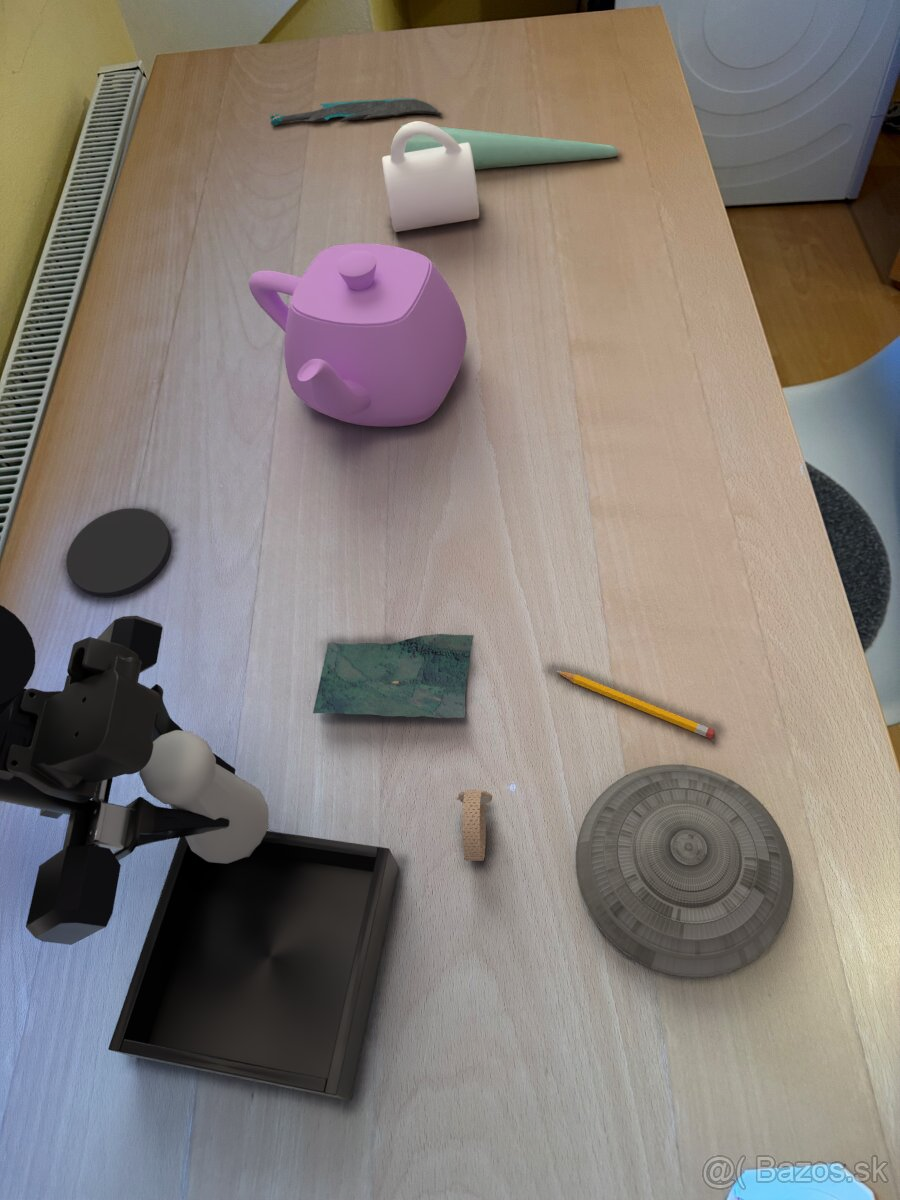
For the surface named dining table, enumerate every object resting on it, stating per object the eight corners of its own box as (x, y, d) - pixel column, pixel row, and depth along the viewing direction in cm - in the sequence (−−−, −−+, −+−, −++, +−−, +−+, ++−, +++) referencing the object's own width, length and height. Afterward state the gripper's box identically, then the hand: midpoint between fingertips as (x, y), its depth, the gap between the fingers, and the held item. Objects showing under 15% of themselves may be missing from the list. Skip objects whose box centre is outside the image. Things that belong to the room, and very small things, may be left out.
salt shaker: (220, 782, 65) (153, 701, 55) (290, 805, 64) (236, 726, 53) (181, 858, 62) (102, 789, 52) (254, 884, 61) (189, 818, 50)
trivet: (82, 614, 84) (78, 609, 83) (60, 539, 89) (56, 534, 88) (183, 569, 85) (180, 564, 84) (156, 498, 90) (153, 493, 90)
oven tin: (135, 1057, 62) (107, 1049, 59) (206, 837, 70) (185, 818, 67) (351, 1101, 59) (336, 1095, 56) (399, 866, 68) (389, 848, 64)
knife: (274, 109, 128) (268, 129, 125) (272, 101, 127) (266, 121, 124) (445, 98, 125) (442, 118, 122) (444, 91, 124) (441, 111, 121)
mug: (481, 232, 108) (472, 135, 98) (396, 246, 108) (378, 151, 98) (473, 192, 112) (464, 95, 102) (391, 206, 113) (374, 110, 103)
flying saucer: (830, 857, 64) (850, 832, 60) (711, 1031, 59) (723, 1018, 55) (654, 735, 71) (659, 704, 66) (533, 882, 66) (530, 860, 61)
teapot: (308, 316, 103) (271, 195, 90) (484, 338, 98) (471, 214, 85) (223, 465, 92) (168, 351, 79) (417, 500, 87) (390, 384, 74)
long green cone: (620, 126, 107) (397, 140, 111) (618, 169, 111) (404, 181, 115) (619, 101, 110) (402, 115, 113) (617, 144, 114) (409, 157, 118)
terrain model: (315, 724, 75) (310, 713, 73) (329, 644, 79) (324, 632, 77) (469, 726, 73) (467, 715, 71) (475, 644, 77) (473, 632, 76)
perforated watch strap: (494, 807, 69) (489, 783, 65) (493, 869, 67) (488, 848, 62) (459, 807, 70) (452, 783, 65) (457, 869, 67) (450, 848, 63)
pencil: (710, 740, 70) (712, 737, 70) (553, 676, 75) (553, 672, 74) (714, 732, 71) (715, 728, 70) (557, 668, 75) (557, 664, 75)
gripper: (-30, 876, 39) (282, 924, 48) (61, 534, 49) (305, 623, 58) (-93, 927, 46) (188, 961, 55) (-3, 619, 57) (223, 688, 65)
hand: (229, 799), depth 58 cm, fingers closed on salt shaker, 3 cm apart
